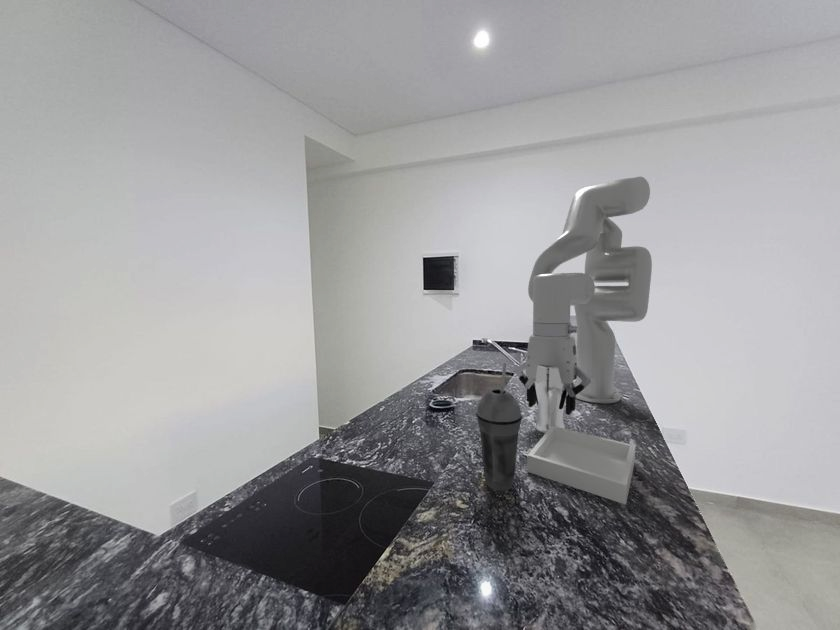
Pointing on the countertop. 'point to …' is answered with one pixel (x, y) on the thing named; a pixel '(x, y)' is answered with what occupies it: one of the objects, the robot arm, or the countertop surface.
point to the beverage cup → (499, 435)
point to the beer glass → (549, 398)
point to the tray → (584, 462)
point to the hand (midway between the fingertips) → (550, 408)
